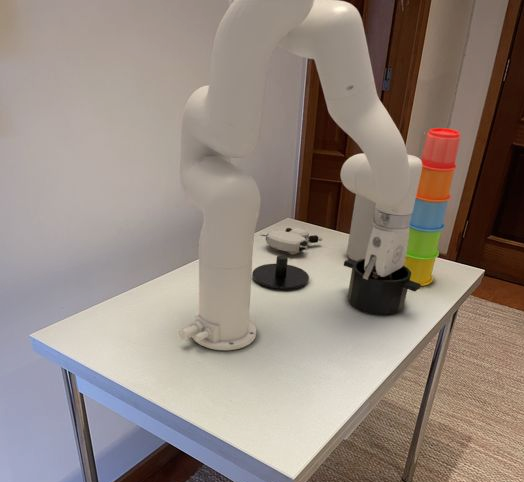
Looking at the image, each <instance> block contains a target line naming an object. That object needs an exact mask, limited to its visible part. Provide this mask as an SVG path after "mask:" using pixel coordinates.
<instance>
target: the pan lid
mask: <svg viewBox="0 0 524 482" xmlns="http://www.w3.org/2000/svg"><path fill="white" fill-rule="evenodd" d="M288 260H289V257H288V256H287V255H285V254H277V256H276V260H275V261H276V262H275V263H267V264H262V265H259V266H257V267H255V268H254V269H253V270H252V274H251V277H252V279H253V280H254V281H255V282H257V283H258V284H260V285H262V286H264V287H268V288H271V289H278V290H292V289H298V288H301V287H303V286H306V284H308V283H309V280H310V275H309V274H308V272H307V271H305V269H302V268H300V267H297V266H295V265H291V264H288Z"/></svg>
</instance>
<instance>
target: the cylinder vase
mask: <svg viewBox="0 0 524 482" xmlns="http://www.w3.org/2000/svg"><path fill="white" fill-rule="evenodd" d="M375 207H376V203H375V202H373V201H371V200H369V199H366V198H364V197H361V196H359V195H357V194H355V198H354V203H353V211H352V217H351V222H350V230H349V236H348V242H347V248H346V255H347V257H348V259H352V260H355V261H358V260H360V259H365V257H366V252H367V248H368V244H369V240H370V236H371V233H372V229H373V226H374V225H373V218H374V212H375Z"/></svg>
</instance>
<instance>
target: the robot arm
mask: <svg viewBox="0 0 524 482" xmlns="http://www.w3.org/2000/svg"><path fill="white" fill-rule="evenodd" d="M227 2H228V8H227V10H226V11H225V13H224V14H223V17H222V18H221V20H220V23H219V25H218V28H217V30H216V32H215V36H214V40H213V46H212V51H211V62H210V67H209V69H210V70H209V78H208V85H207V84H206V85H203V86H201V87H199V88H197V89H196V90H194V92H192V94H191V95H190V96H189V97H188V99H187V101H186V103H185V106H184V108H183V113H182V118H181V132H180V133H181V134H180V154H179V155H180V156H179V158H180V159H179V180H180V187H181V190H182V193H183V195H184V197H185V198H186V199H187V200H188V201H189V203H191V204H192V205H193V206H194V207H195V208H197V210H199V211H200V212H201V213H203V221H202V226H201V229H200V232H199V233H200V234H199V238H198V314H197V315H194V321H193V322H192V323H191V325H190V326H187V327H185V328H183V329H181V330H179V333H178V335H179V337H180V339H182V340H183V341H186V340H188V339H190V338H192V340H193V341H194V342H195V343H197V344H198V345H200V346H202V347H204V348H207V349H209V350H210V349H211V350H215V351H232V350H233V351H234V350H238V349H242V348H245V347H247V346H249V345H251V344H252V343H253V342H254V341H255V339H256V337H257V327H256V325H255V324H254V323H253V322H252V321H251V320H250V309H251V307H250V306H251V291H252V289H251V288H252V274H253V255H254V254H253V252H254V241H255V235H256V234H255V232H256V229H257V228H256V227H257V223H258V219H259V215H260V211H261V204H262V197H261V192H260V188H259V186H258V184H257V182H256V181H255V179H254V178H253V176H251V174H250V173H248V172H247V171H246V170H244V168H241V167H240V166H237V165H235V164H234V163H232V159H241V158H245V157H247V156H250V154H251V153H253V152H254V150H256V148H257V146H258V144H259V142H260V141H259V140H260V138H261V132H262V123H263V114H264V113H263V112H264V104H265V94H266V84H267V78H268V73H269V66H270V62H271V59H272V56H273V54H274V52H275V50H276V48H277V47H279V48H281V49H283V50H285V51H287V52H289V53H291V54H293V55H295V56H298V57H300V58H303V59H310V60H313V61H314V64H315V68H316V71H317V74H318V77H319V81H320V85H321V89H322V92H323V96H324V100H325V104H326V107H327V108H326V109H327V111H328V114H329V116H330V117H331V119H332V120H333V121H334V122H335V124H336V125H337V126H338V127H339V128H340V129H341V130H342V131H343V132H344V133H345V134H346V135H348V136H349V137H350V138H351V139H352V140H353V141H354V142H355V143H356V144H357V146H358V147H359V148H360V149H361V151H362V153H357V154H354V155H352V156H350V157H348V159H346V160H345V161H344V163H343V164H342V167H341V169H340V180H341V183H342V185H343V187H345V188H346V189H347V190H348V191H349V192H351V193H352V194H355V195H356V194H357V195H359V196H361V197H364V198H366V199H369V200H371V201H373V202H375V203H376V207H375V212H374V218H373V225H374V226H373V229H372V233H371V236H370V240H369V244H368V248H367V252H366V257H365V264H364V269H365V273H364V275H363V279H366V280H368V281H369V278H370V277H371V278H374V277H373V275H375V276H378V277H377V279H380V280H393V278H394V272H395V271H397V270H398V269H400V268H402V267H403V265H404V263H405V258H406V252H407V246H408V239H409V227H410V223H411V218H412V213H413V209H414V204H415V199H416V195H417V190H418V185H419V181H420V176H421V172H422V161H421V159H420V157H417V156H415V155H413V154H408V151H407V147H406V144H405V141H404V139H403V136H402V134H401V132H400V130H399V129H398V127H397V125H396V123H395V121H394V120H393V118H392V117H391V114H389V112H388V110H387V108H386V107H385V106H384V104H383V103H382V101H381V100H380V98H379V95H378V93H377V88H376V82H375V77H374V72H373V68H372V67H373V66H372V63H371V58H370V52H369V47H368V41H367V37H366V33H365V28H364V22H363V19H362V16H361V14H360V12H359V10H358V8H357V7H355V6H354V5H353V4H352V3H350V2H347V1H345V0H227ZM375 269H376V271H374V270H375Z"/></svg>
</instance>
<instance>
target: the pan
mask: <svg viewBox="0 0 524 482" xmlns="http://www.w3.org/2000/svg"><path fill="white" fill-rule="evenodd" d="M364 264H365V259H360V260H358V261H355V260H352V259H350V258H348V259H346V260H344V261H343V266H344V267H347V268H350V269H351V274H350V279H349V286H348V292H347V302H348V304H349V305H350V306H351V307H352V308H354V309H356V310H357V311H359V312H362V313H365V314H368V315H374V316H381V317H382V316H383V317H385V316H393V315H397V314H399V313H401V312H403V309H404V308H405V307H404V306H405V302H406V298H407V293H408V290H409V291H411V292H414V293H415V292H417V291H418V290H420V289H421V287H422V286H421V284H419V283H416V282H413V281H411V280H410V277H411V272H410V270H409V269H408V268H407V267H405V266H404V265H403V267H402V268H400V269H398V270H397V271H395V272H394V278H393V280H380V279H375V278H371V277H370V278H369V281H368V280H366V279H363V275H364V273H365V269H364ZM374 271H376V269H375V270H374Z"/></svg>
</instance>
